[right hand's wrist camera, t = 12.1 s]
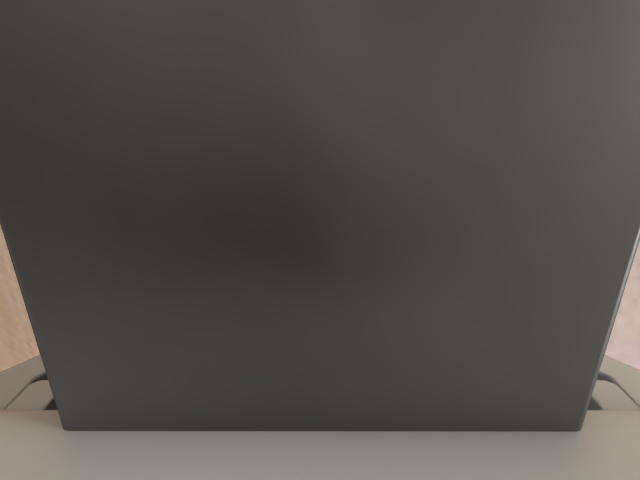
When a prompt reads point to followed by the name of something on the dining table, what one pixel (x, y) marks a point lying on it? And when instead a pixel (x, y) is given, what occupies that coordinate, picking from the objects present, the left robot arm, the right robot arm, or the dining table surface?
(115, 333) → the box
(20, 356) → the dining table surface
